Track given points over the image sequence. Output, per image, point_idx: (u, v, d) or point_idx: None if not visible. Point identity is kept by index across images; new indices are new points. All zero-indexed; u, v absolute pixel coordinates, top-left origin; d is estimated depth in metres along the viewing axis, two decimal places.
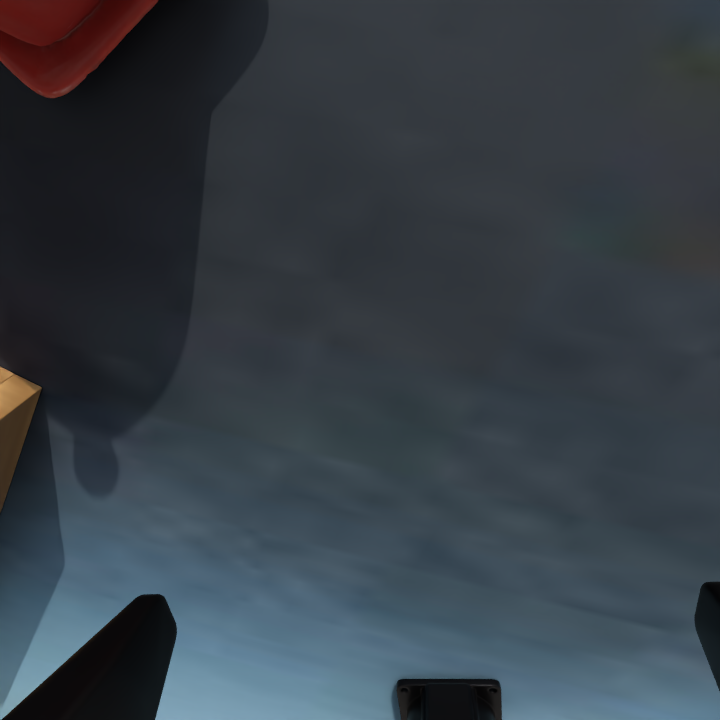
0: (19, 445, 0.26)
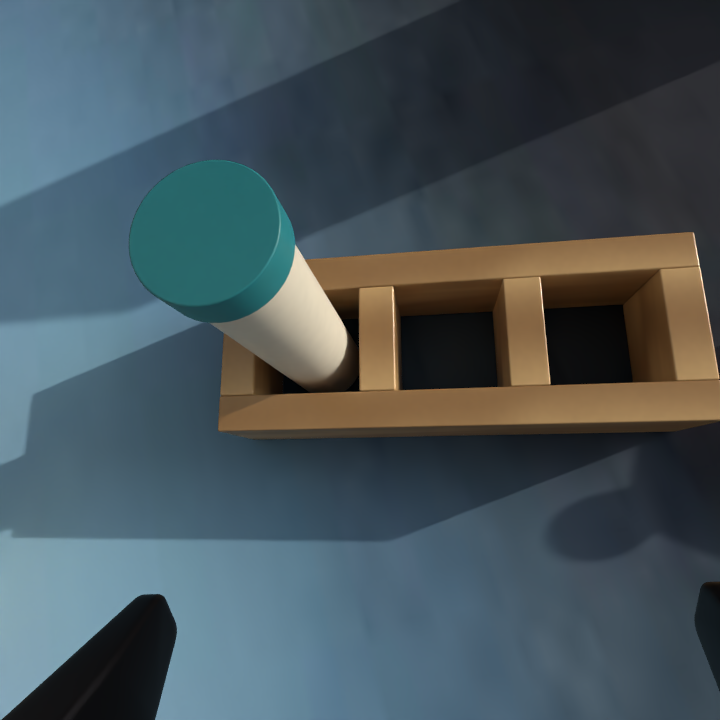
0: (582, 432, 0.21)
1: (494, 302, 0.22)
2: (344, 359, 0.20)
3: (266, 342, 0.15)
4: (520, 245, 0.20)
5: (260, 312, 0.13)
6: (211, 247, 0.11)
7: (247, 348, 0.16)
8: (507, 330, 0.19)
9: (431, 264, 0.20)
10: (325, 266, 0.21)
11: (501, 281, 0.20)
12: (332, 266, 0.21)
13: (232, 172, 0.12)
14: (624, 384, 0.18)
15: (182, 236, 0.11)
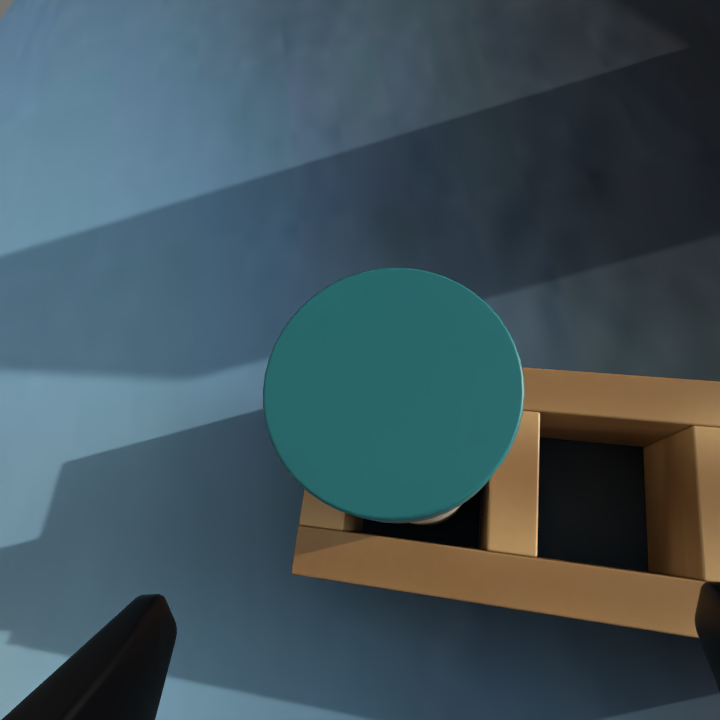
0: None
1: (655, 441, 0.17)
2: None
3: None
4: (717, 383, 0.15)
5: None
6: (403, 415, 0.07)
7: None
8: (699, 498, 0.14)
9: (593, 391, 0.16)
10: None
11: (688, 427, 0.15)
12: None
13: (442, 293, 0.07)
14: None
15: (354, 389, 0.07)
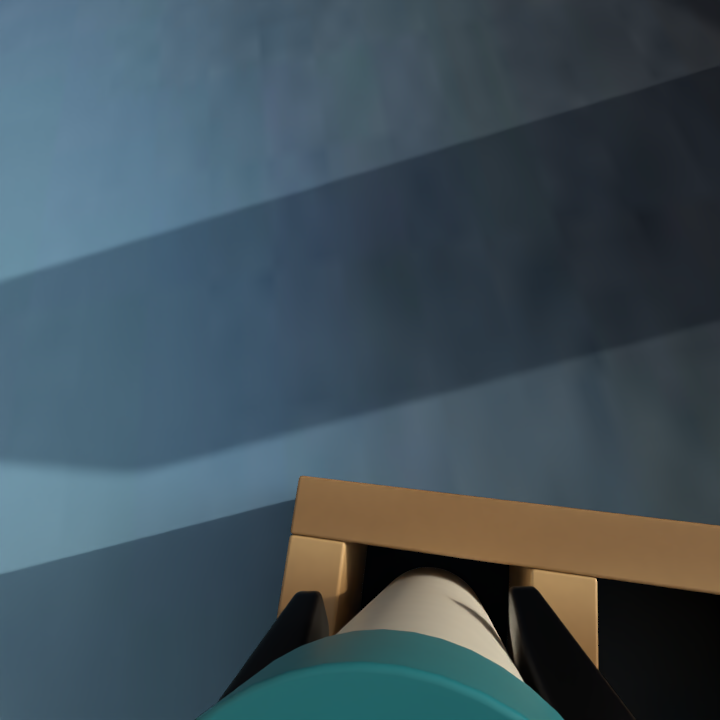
0: None
1: None
2: None
3: None
4: None
5: None
6: None
7: None
8: None
9: (673, 549, 0.11)
10: (471, 513, 0.12)
11: None
12: (483, 516, 0.12)
13: None
14: None
15: None
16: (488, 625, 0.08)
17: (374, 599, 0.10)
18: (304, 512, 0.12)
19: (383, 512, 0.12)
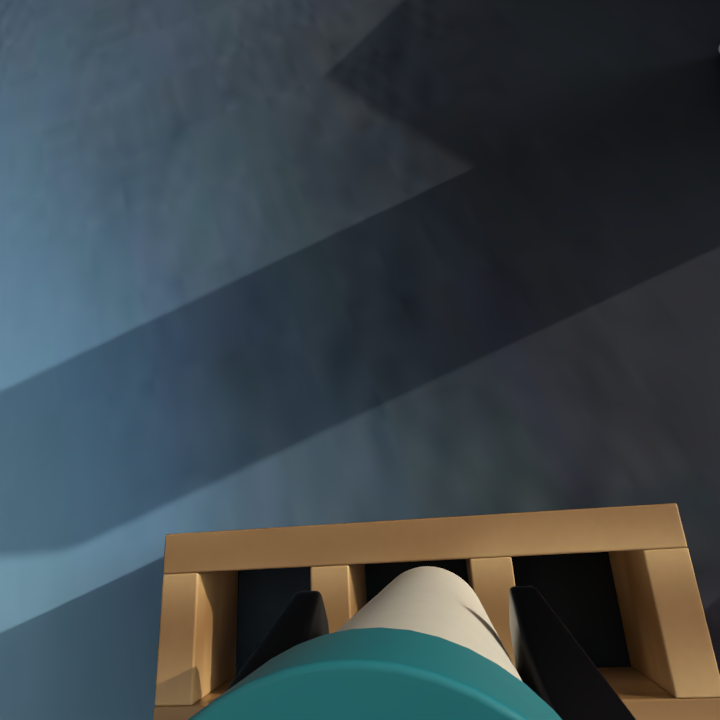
0: None
1: None
2: None
3: None
4: (487, 517, 0.18)
5: None
6: None
7: None
8: None
9: (389, 539, 0.18)
10: (273, 539, 0.19)
11: (468, 559, 0.18)
12: (280, 539, 0.19)
13: None
14: None
15: None
16: (487, 624, 0.08)
17: (373, 598, 0.10)
18: (170, 558, 0.19)
19: (220, 548, 0.19)
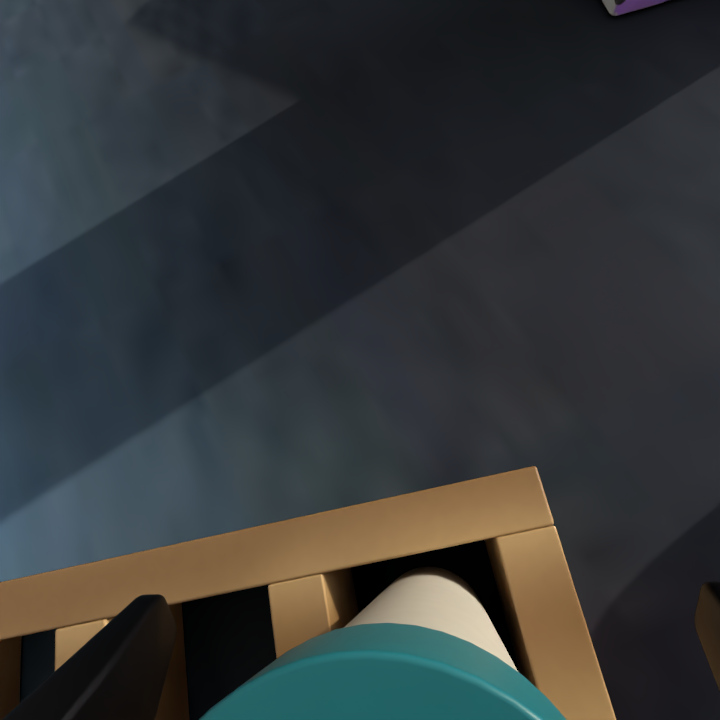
0: None
1: None
2: None
3: None
4: (288, 522, 0.13)
5: None
6: None
7: None
8: None
9: (160, 573, 0.13)
10: (6, 596, 0.13)
11: (269, 585, 0.13)
12: (16, 595, 0.13)
13: None
14: None
15: None
16: (487, 622, 0.09)
17: (377, 597, 0.10)
18: None
19: None
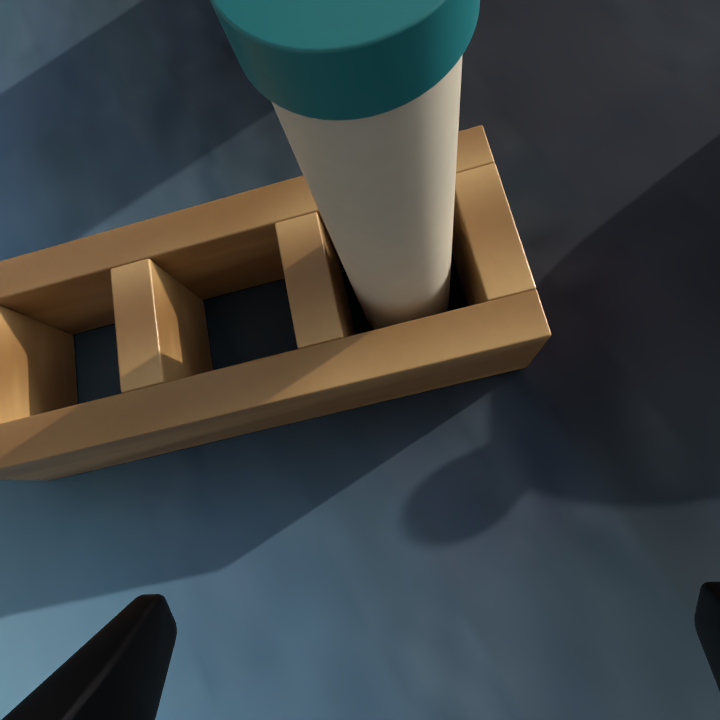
0: (421, 390, 0.18)
1: None
2: (443, 285, 0.15)
3: (379, 203, 0.10)
4: (289, 180, 0.16)
5: (400, 122, 0.08)
6: None
7: (339, 224, 0.11)
8: (286, 282, 0.15)
9: (190, 223, 0.16)
10: (69, 251, 0.17)
11: None
12: (77, 250, 0.17)
13: None
14: (428, 318, 0.15)
15: None
16: None
17: None
18: None
19: (13, 273, 0.17)
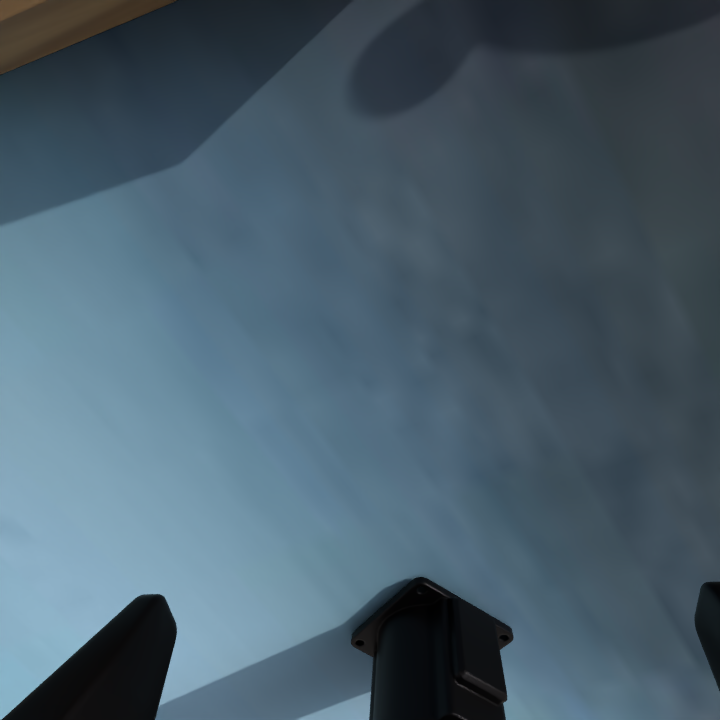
0: None
1: None
2: None
3: None
4: None
5: None
6: None
7: None
8: None
9: None
10: None
11: None
12: None
13: None
14: None
15: None
16: None
17: None
18: None
19: None
